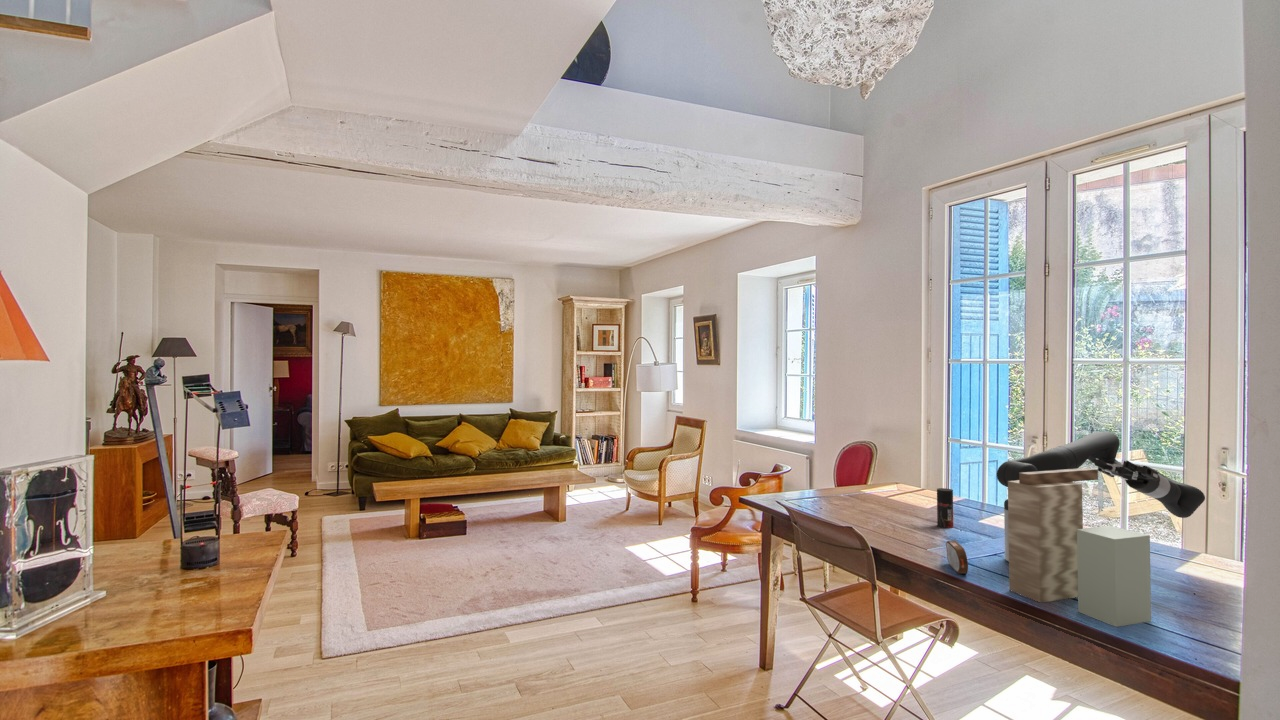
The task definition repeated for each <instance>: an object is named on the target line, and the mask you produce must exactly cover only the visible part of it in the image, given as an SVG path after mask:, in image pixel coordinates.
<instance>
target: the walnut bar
mask: <svg viewBox="0 0 1280 720" xmlns="http://www.w3.org/2000/svg"><path fill="white" fill-rule="evenodd" d="M1097 480H1099V471H1098V468H1090V467H1084V468H1083V467H1082V468H1080V467H1079V468H1078V469H1065V470H1051V471H1037V472H1022V473H1019V483H1021V484H1026V485H1035V484H1048V483H1061V482H1082V481H1083V482H1086V481H1097Z"/></svg>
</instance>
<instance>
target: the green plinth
mask: <svg viewBox="0 0 1280 720" xmlns="http://www.w3.org/2000/svg"><path fill="white" fill-rule="evenodd" d="M1077 558H1078V597H1077V600H1078V601H1077V603H1078V605H1077V609H1078V610H1077V612H1078V613H1079V614H1083V615H1085V616H1088V617H1090V618H1093V619H1095V620H1097V621H1101V622H1103V623H1105V624H1108V625H1110V626H1113V627H1116V628H1118V627H1123V626H1124V627H1125V626H1129V625H1136V624H1137V625H1138V624H1144V623H1148V622H1152V597H1151V596H1152V593H1151V592H1152V590H1151V589H1152V588H1151V587H1152V586H1151V536H1150V535H1149V534H1146V533H1141V532H1137V531H1133V530H1130V529H1125V528H1121V527H1117V526H1113V525H1107V526H1098V527H1097V526H1095V527H1088V528H1087V527H1086V528H1083V529H1077Z"/></svg>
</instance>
